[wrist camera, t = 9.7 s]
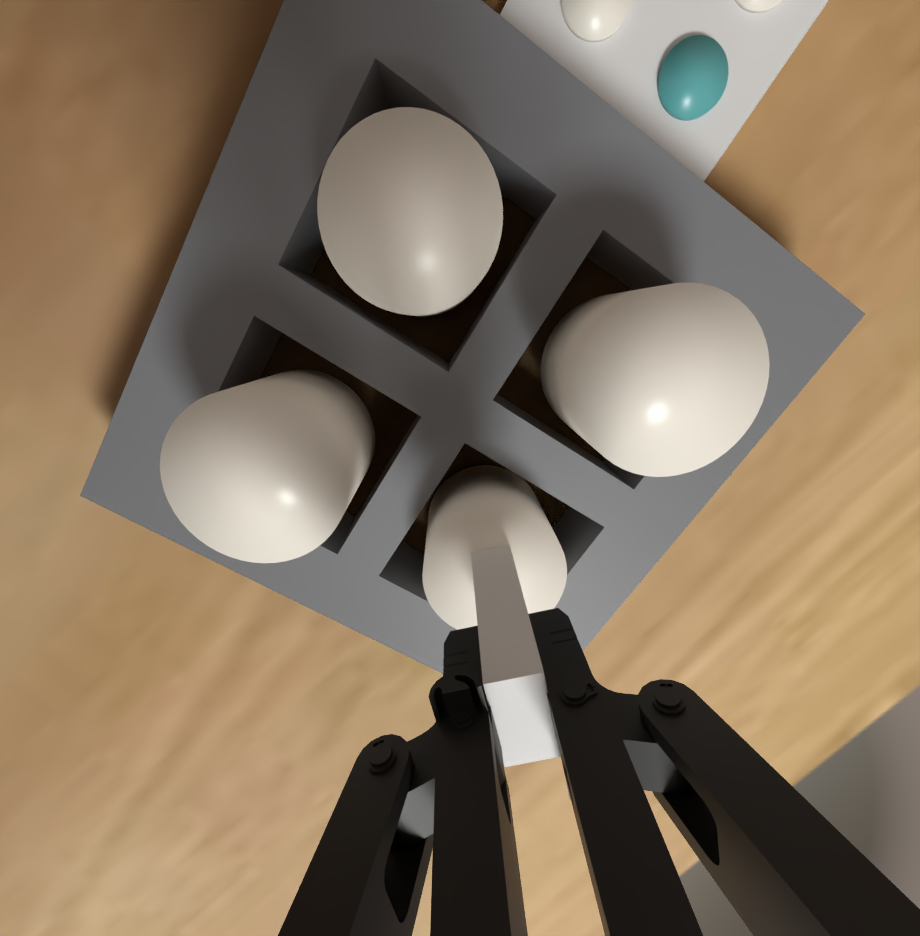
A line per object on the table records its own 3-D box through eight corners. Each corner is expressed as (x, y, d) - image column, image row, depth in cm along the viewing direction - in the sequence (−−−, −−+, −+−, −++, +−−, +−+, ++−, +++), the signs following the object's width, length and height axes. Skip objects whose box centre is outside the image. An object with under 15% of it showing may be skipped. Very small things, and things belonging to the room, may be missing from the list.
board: (143, 465, 22) (80, 495, 18) (359, -21, 17) (333, -121, 13) (516, 658, 26) (528, 715, 22) (789, 315, 21) (865, 314, 17)
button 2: (329, 268, 19) (285, 248, 14) (396, 137, 18) (373, 60, 13) (443, 342, 20) (441, 348, 15) (514, 222, 19) (539, 185, 14)
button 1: (218, 458, 19) (132, 509, 14) (275, 341, 18) (204, 350, 13) (337, 522, 20) (298, 591, 15) (399, 416, 19) (381, 452, 14)
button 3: (407, 535, 23) (395, 598, 18) (466, 444, 22) (473, 482, 16) (499, 585, 24) (514, 658, 19) (561, 501, 23) (596, 555, 18)
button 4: (513, 389, 19) (539, 416, 13) (596, 263, 17) (660, 239, 12) (620, 458, 20) (683, 508, 14) (707, 344, 18) (810, 354, 13)
